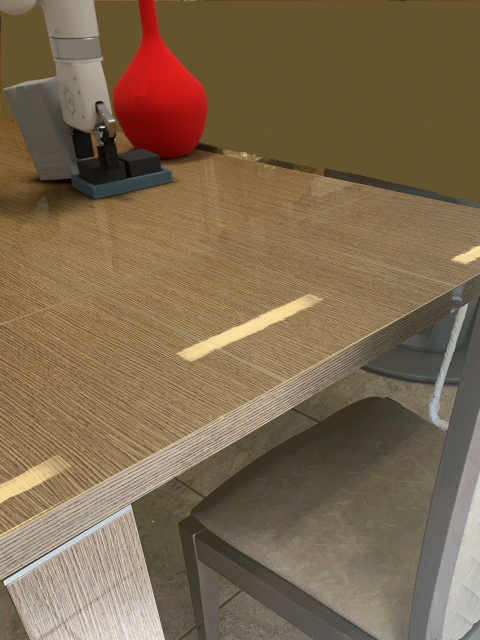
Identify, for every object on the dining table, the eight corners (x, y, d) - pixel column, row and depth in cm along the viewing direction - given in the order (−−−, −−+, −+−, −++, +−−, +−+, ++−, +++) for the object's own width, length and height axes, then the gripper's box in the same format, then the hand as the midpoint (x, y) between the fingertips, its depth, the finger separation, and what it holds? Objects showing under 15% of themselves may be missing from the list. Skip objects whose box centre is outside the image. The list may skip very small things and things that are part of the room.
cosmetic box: (96, 170, 119) (67, 74, 110) (70, 181, 114) (38, 81, 105) (61, 171, 122) (30, 78, 113) (35, 182, 117) (0, 85, 108)
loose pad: (96, 192, 110) (91, 168, 107) (81, 184, 114) (76, 161, 111) (128, 185, 113) (124, 162, 111) (112, 178, 117) (108, 155, 114)
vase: (106, 151, 133) (71, -24, 115) (181, 137, 143) (161, -27, 125) (150, 170, 122) (120, -20, 104) (229, 153, 132) (214, -24, 114)
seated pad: (132, 184, 113) (128, 161, 111) (117, 177, 117) (112, 154, 115) (162, 178, 116) (159, 155, 114) (146, 171, 120) (143, 148, 118)
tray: (95, 199, 109) (92, 187, 107) (72, 187, 114) (70, 175, 113) (173, 181, 116) (171, 170, 115) (148, 171, 122) (146, 160, 121)
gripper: (32, 45, 104) (56, 156, 114) (77, 58, 93) (99, 179, 104) (76, 42, 108) (96, 150, 118) (124, 54, 97) (141, 171, 108)
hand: (97, 163), depth 111 cm, fingers open, 9 cm apart
